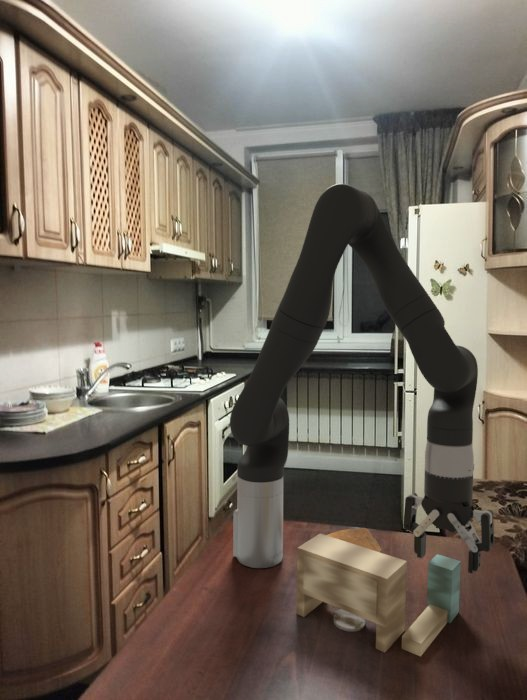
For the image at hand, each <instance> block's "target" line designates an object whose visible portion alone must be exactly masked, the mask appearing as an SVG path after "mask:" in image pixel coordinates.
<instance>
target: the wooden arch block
mask: <svg viewBox="0 0 527 700" xmlns="http://www.w3.org/2000/svg"><path fill="white" fill-rule="evenodd" d="M327 535H328V534H324V533H319V534H317V535H316V536H314V537H312V538H310V539H309V540H308V541H306V542H304V543H303V544H301V545H299V546H298V547H297V552H296V555H297V557H296V563H297V564H296V565H297V566H296V615H299V617H300V616H301V617H303V618H305V617H306V616H308V615H309V614H310V613H312V611H313V610H315V609H316V608H318V606H319V605H321V604H322V603H325V604H328V605H329V606H333V607H336V608H338V609H342V610H345V611H347V612H350V613H352V614H354V615H357V616H359V617H362V618H364V619H365V620H367V621H369V622H372V623H374V624H376V626H375V627H376V630H375V632H376V633H375V649H376V650H378V651H380V652H381V653H386V652H387V651H388V650H389V649H390V648H391V647H392V645H393V644H394V643H395V642H396V641H397V640H398V639H399V638H400V636H401V635H403V634H404V633H405V632H406V631H405V628H406V596H407V595H406V594H407V574H408V573H407V571H408V570H407V566H408V564H407V563H408V561H407V560H404V559H401V558H398V557H396V556H392V555H388V554H386V553H383V552H377V551H374V550H370V549H367V548H364V547H361V546H358V545H355V544H352V543H349V542H345V541H342V540H339V539H336V538H333V537H330V536H327Z"/></svg>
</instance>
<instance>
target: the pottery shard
mask: <svg viewBox="0 0 527 700" xmlns="http://www.w3.org/2000/svg"><path fill="white" fill-rule="evenodd" d="M326 535H327V536H330V537H333V538H336V539H339V540H342V541H345V542H349V543H352V544H355V545H358V546H361V547H364V548H367V549H370V550H374V551H377V552H380V553H382V548H381V546H380V544H379V543H378V541H377V540H376V539H375V538H374V536H373V534H371V532H370V531H369V530H368V529H367V528H366V527H362V528H361V527H360V528H350V529H349V528H348V529H343V530H337V531H333V532H331V533H329V534H326Z"/></svg>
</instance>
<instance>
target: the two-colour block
mask: <svg viewBox="0 0 527 700" xmlns="http://www.w3.org/2000/svg"><path fill="white" fill-rule="evenodd" d="M461 563H462V561H461V560H458V559H454V558H451V557H448V556H445V555H441V554H438V553H437V554H436V555H434V557H433V558H432V559H430V561H428V564H427V565H428V566H427V587H426V590H427V591H426V592H427V593H426V608H424V610H423V611H422V613H421V614H420V615H419V616H418V617H417V618H416V619H415V620H414V621H413V622H412V624H411V625H410V626H409V627H408V629H406V631H404V632H403V633H402V634H401V635H402V636H401V650H404V651H406V652H409V653H411V654H413V655H416V656H419V657H422V655H423V654H424V653H425V652H426V651H427V650H428V648H429V647H430V646H431V644H432V642H434V640H435V639H436V638H437V636H438V635H439V634H440V632H441V631H442V630H443V629H444V627H445V626H446V625H447V624H451V623H452V622H453V621H454V619H455V618H456V616H458V614H459V612H460V611H459V610H460V591H461V586H460V585H461V567H462V564H461Z"/></svg>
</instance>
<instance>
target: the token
mask: <svg viewBox="0 0 527 700" xmlns="http://www.w3.org/2000/svg"><path fill="white" fill-rule="evenodd" d="M365 623H366V619H364V618H362V617H359V616H357V615H354V614H352V613H350V612H347V611H345V610H342V609H340V608H338V609H337V610H336V611H335V612H334V613H333V624H334V626H335V627H336V628H337V629H339V630H342V631H345V632H353V633H354V632H358V631H361V630H363V629H364V627H365V626H366V624H365Z"/></svg>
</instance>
